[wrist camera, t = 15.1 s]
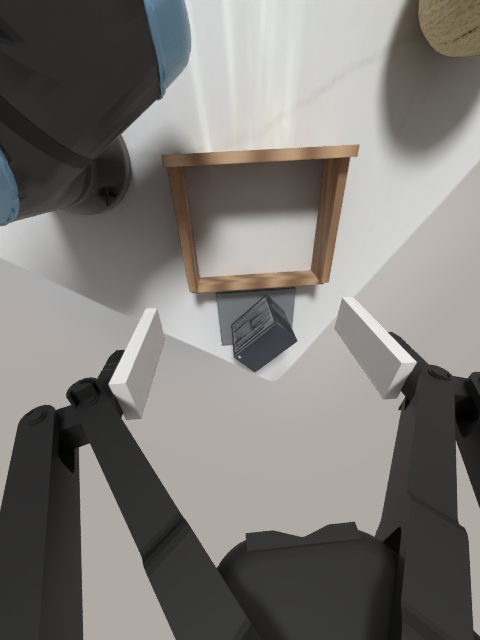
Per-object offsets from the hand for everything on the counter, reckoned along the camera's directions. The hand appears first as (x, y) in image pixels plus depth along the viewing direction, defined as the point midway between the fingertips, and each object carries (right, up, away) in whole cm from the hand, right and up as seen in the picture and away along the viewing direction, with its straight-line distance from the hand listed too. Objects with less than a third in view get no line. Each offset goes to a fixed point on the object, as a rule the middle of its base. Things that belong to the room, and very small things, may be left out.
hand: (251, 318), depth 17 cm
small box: (+3, 0, +34) cm, 34 cm away
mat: (+3, 0, +34) cm, 34 cm away
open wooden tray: (+2, +16, +24) cm, 29 cm away
